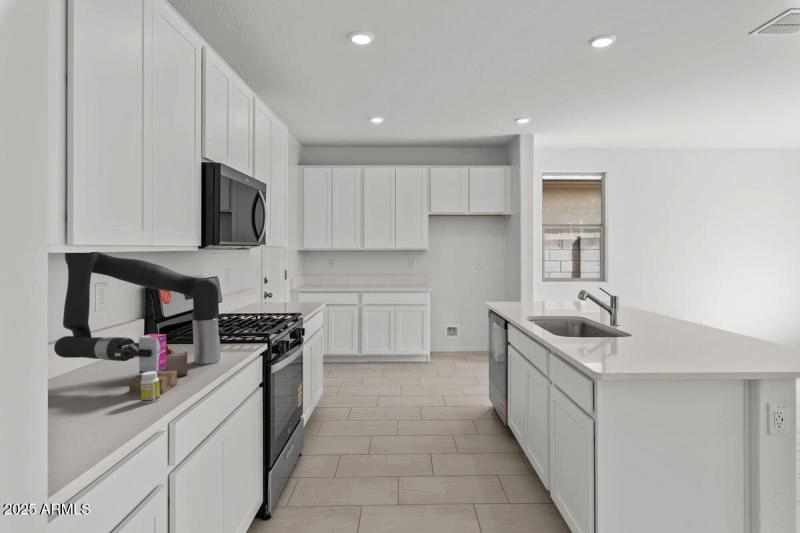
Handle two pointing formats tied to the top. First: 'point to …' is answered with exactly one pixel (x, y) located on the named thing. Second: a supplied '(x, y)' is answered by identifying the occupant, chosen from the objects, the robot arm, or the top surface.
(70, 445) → the top surface
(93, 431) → the top surface
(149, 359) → the supplement box
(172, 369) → the food item
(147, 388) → the supplement bottle
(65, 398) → the top surface
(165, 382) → the tan block
